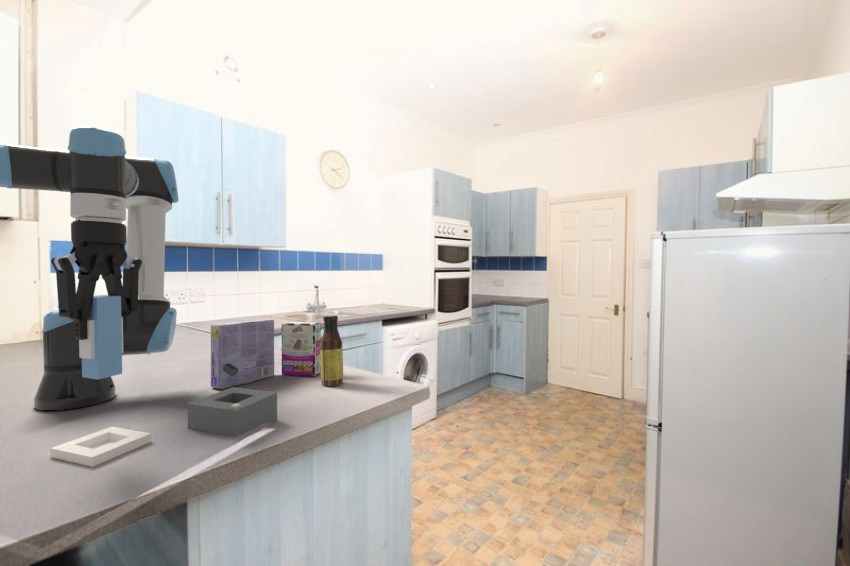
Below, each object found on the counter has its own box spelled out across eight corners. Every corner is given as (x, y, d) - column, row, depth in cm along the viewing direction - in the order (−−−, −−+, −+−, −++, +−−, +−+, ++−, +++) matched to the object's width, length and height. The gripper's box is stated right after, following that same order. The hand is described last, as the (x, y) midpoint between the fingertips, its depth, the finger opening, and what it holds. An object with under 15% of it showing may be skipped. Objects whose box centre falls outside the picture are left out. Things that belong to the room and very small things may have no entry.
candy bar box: (321, 373, 129) (321, 321, 128) (314, 377, 124) (314, 324, 123) (288, 371, 130) (288, 320, 130) (280, 375, 125) (280, 322, 125)
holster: (50, 462, 68) (50, 448, 68) (112, 439, 78) (112, 426, 78) (92, 472, 65) (92, 457, 65) (151, 446, 75) (150, 433, 75)
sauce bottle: (347, 383, 118) (348, 315, 117) (332, 388, 112) (332, 317, 112) (331, 379, 121) (331, 313, 120) (315, 384, 116) (315, 315, 115)
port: (187, 433, 81) (187, 401, 81) (233, 413, 93) (232, 384, 92) (236, 441, 78) (236, 407, 77) (277, 419, 89) (277, 390, 89)
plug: (82, 377, 70) (80, 296, 70) (106, 371, 74) (104, 295, 73) (98, 379, 69) (96, 297, 68) (122, 373, 73) (120, 295, 72)
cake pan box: (267, 373, 128) (267, 317, 127) (278, 375, 126) (278, 318, 125) (208, 388, 111) (208, 324, 111) (219, 391, 109) (219, 325, 108)
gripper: (56, 215, 61) (60, 368, 62) (161, 225, 77) (162, 347, 78) (24, 216, 63) (28, 364, 64) (132, 226, 80) (134, 344, 81)
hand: (102, 354), depth 71 cm, fingers closed on plug, 4 cm apart
